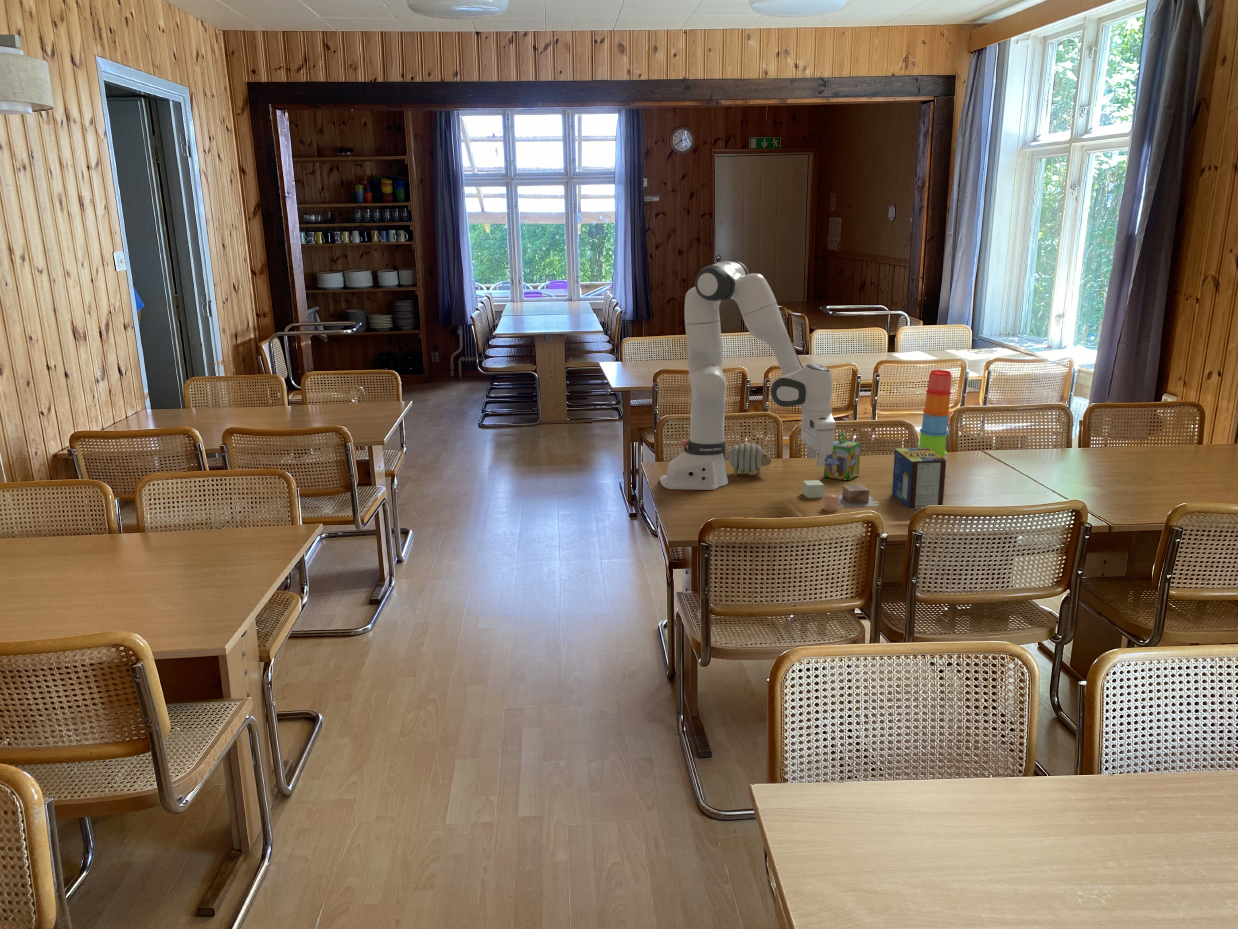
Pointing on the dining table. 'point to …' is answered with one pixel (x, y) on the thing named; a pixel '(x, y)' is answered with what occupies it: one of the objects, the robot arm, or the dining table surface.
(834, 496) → the terracotta cylinder
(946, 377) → the stacking cups
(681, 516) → the dining table surface
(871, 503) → the slate board
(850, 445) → the colorful toy box
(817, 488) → the sage block
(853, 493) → the walnut base block
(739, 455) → the toy sheep
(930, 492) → the protein box
